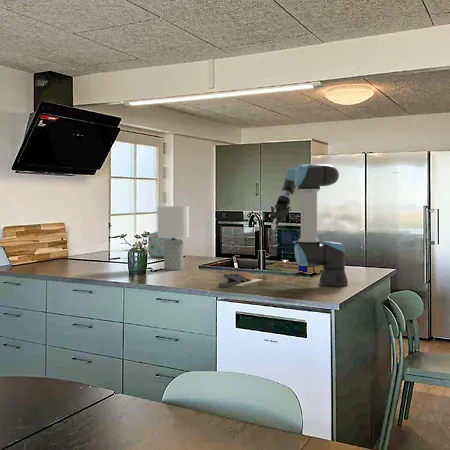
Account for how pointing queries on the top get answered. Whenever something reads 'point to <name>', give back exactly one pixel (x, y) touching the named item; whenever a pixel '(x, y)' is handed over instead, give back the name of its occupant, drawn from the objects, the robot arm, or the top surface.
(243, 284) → the birch board
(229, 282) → the dark grey block
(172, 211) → the lamp
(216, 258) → the top surface
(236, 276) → the dark grey block
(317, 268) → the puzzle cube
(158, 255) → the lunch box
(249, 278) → the salmon orange block
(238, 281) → the grey rectangular slab
